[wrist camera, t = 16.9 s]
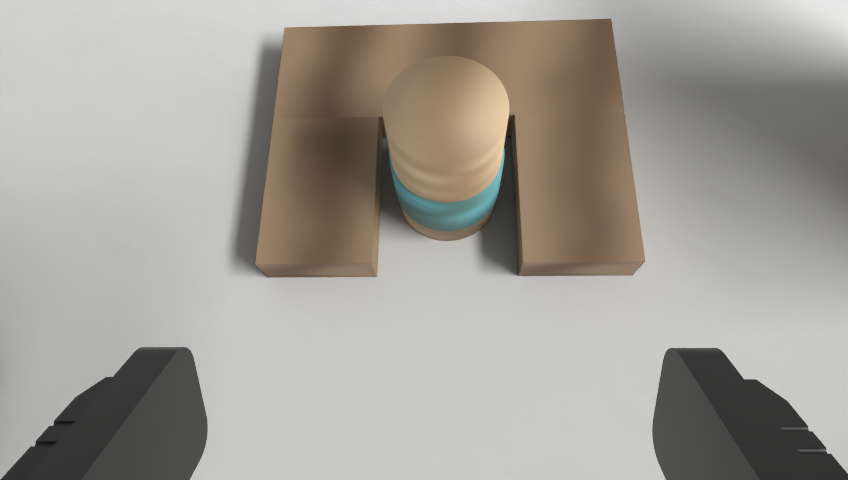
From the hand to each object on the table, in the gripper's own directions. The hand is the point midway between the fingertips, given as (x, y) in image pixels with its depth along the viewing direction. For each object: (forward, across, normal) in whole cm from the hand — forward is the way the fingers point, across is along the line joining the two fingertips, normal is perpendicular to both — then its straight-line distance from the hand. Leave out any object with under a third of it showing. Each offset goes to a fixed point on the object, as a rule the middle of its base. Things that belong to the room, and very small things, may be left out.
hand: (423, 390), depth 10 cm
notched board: (+22, 0, +2) cm, 22 cm away
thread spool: (+20, 0, +4) cm, 21 cm away
